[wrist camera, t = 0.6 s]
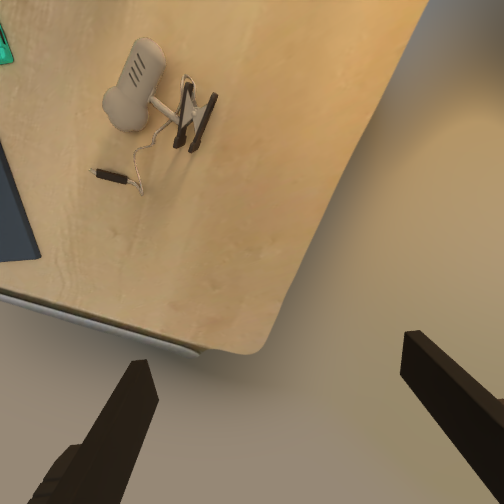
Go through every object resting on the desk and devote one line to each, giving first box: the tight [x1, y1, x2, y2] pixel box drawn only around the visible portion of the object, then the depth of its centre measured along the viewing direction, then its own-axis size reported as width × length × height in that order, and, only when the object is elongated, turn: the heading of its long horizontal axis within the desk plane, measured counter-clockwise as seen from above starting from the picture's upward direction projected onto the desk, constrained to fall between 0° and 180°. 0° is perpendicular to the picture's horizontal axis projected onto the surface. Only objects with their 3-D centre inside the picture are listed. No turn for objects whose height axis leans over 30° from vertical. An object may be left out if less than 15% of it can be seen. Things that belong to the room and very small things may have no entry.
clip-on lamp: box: [89, 37, 218, 196], centre depth 31 cm, size 12×6×18 cm
